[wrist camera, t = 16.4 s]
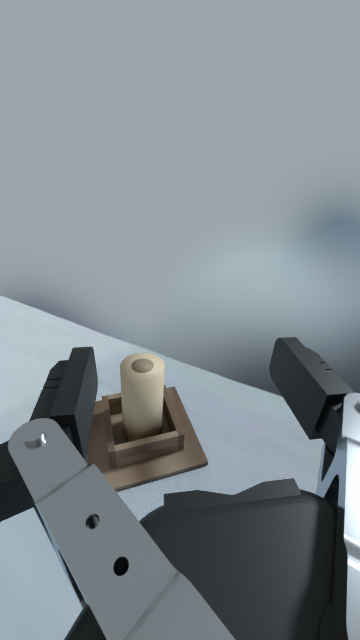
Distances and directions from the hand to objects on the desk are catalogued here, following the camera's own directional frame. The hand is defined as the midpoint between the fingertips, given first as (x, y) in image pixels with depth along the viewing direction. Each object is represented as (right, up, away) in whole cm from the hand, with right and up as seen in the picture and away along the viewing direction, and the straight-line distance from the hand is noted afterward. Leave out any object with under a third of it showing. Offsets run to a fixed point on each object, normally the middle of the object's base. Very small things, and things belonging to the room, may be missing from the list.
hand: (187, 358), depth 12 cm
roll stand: (-6, -14, +26) cm, 30 cm away
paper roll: (-5, -13, +26) cm, 30 cm away
